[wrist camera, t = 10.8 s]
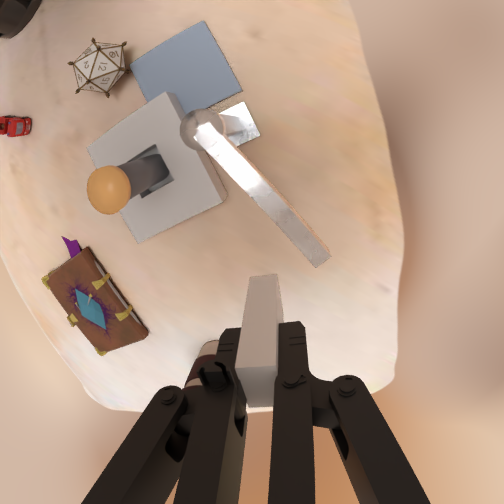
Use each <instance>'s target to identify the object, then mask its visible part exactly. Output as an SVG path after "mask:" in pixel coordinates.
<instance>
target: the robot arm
mask: <svg viewBox="0 0 504 504" xmlns="http://www.w3.org/2000/svg"><path fill="white" fill-rule="evenodd" d="M40 2H41V0H0V38H11V37H13V36H15V35H16V34H17V33H19V32H20V31H21V30H22V29H23V28H24V27H25V25H26V24H27V23H28V22H29V21H30V19H31V18H32V16H33V15H34V13H35V12H36V10H37V8H38V6H39V4H40ZM196 373H197V375H198V377H199V379H200V381H201V383H202V385H201V386H200V387H197V388H194V389H190V390H186V391H182V390H181V388H179V387H177V386H171V385H170V386H166V387H163V388H162V389H160V390H159V391H158V392H157V393H156V394H155V395H154V397H153V398H152V400H151V401H150V403H149V404H148V406H147V407H146V409H145V410H144V412H143V413H142V415H141V416H140V418H139V419H138V420H137V422H136V423H135V425H134V426H133V428H132V429H131V431H130V432H129V434H128V435H127V437H126V438H125V440H124V441H123V443H122V444H121V446H120V447H119V449H118V450H117V452H116V453H115V454H114V456H113V457H112V459H111V460H110V462H109V463H108V465H107V466H106V468H105V469H104V471H103V472H102V474H101V475H100V477H99V478H98V480H97V481H96V483H95V484H94V485H93V487H92V488H91V490H90V492H89V493H88V494H87V496H86V497H85V499H84V500H83V502H82V503H81V504H165V502H166V500H167V499H168V497H169V495H170V493H171V491H172V489H173V488H174V486H175V484H176V482H177V480H178V479H179V481H178V485H177V489H176V494H175V498H174V502H173V504H238V499H239V491H240V483H241V474H242V466H243V457H244V448H245V439H246V429H247V421H248V417H247V412H246V403H247V404H248V407H249V408H250V407H272V406H273V427H272V428H273V429H272V446H271V463H270V479H269V493H268V494H269V495H268V504H315V468H314V442H313V426H317V427H324V428H329V430H330V432H331V435H332V437H333V440H334V442H335V444H336V447H337V449H338V452H339V454H340V457H341V459H342V462H343V464H344V466H345V469H346V471H347V474H348V476H349V479H350V481H351V484H352V486H353V488H354V491H355V493H356V496H357V498H358V501H359V503H360V504H430V501H429V500H428V498H427V496H426V494H425V492H424V490H423V488H422V486H421V484H420V483H419V480H418V479H417V477H416V475H415V474H414V471H413V469H412V467H411V466H410V464H409V462H408V460H407V458H406V457H405V455H404V453H403V451H402V449H401V447H400V446H399V444H398V442H397V440H396V438H395V437H394V435H393V433H392V431H391V430H390V428H389V426H388V424H387V422H386V421H385V419H384V417H383V415H382V413H381V412H380V410H379V408H378V407H377V405H376V403H375V401H374V400H373V398H372V396H371V394H370V393H369V391H368V389H367V387H366V386H365V384H364V382H363V381H362V380H361V379H360V378H358V377H356V376H353V375H344V376H340V377H338V378H336V379H334V380H333V382H332V381H325V380H320V379H318V378H316V377H314V376H313V375H312V374H311V372H310V371H309V366H308V354H307V344H306V333H305V327H304V326H303V325H302V323H301V322H300V321H296V322H287V323H284V320H283V308H282V301H281V295H280V289H279V282H278V276H277V274H272V275H264V276H256V277H250V280H249V286H248V292H247V298H246V304H245V310H244V316H243V322H242V328H229V329H226V330H225V331H224V332H223V333H222V335H221V336H220V339H219V343H218V347H217V352H216V356H215V359H213V360H209V361H206V362H204V363H203V364H201V365H200V366H199V367H198V369H197V371H196Z"/></svg>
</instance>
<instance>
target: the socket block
mask: <svg viewBox="0 0 504 504" xmlns="http://www.w3.org/2000/svg"><path fill="white" fill-rule="evenodd" d="M185 116H186V114H185V112H184V110H183V109H182V107H181V105H180V103H179V101H178V99H177V97H176V95H175V93H170V92H166V91H165V92H164V93H162V94H160V95H159V96H157V97H156V98H154V99H153V100H151V101H149V102H148V103H146V104H145V105H143V106H142V107H140V108H139V109H137V110H136V111H135V112H133V113H132V114H130V115H129V116H127V117H126V118H125V119H123V120H122V121H120V122H119V123H118V124H116V125H115V126H114V127H112V128H111V129H110V130H108V131H107V132H106V133H105V134H103V135H102V136H101V137H99V138H98V139H97V140H96V141H94V142H93V143H92V144H91V145H90V146H88V147H87V150H88V153H89V155H90V157H91V159H92V161H93V163H94V165H95V167H96V169H98V168H101V167H104V166H107V165H113V166H118V165H121V164H124V163H127V162H130V161H133V160H136V159H140V158H143V157H146V156H149V155H152V154H161V156H162V158H163V160H164V162H165V164H166V166H167V168H168V169H169V171H170V172H169V175H168V176H167V178H166V179H164V180H163V181H161V182H159V183H157V184H156V185H154V186H152V187H150V188H149V189H147V190H145V191H143V192H142V193H140V194H138V195H137V196H135V197H133V198H132V199H130V200H129V201H128V203H127V205H126V206H125V207H124V208H122V209H121V210H120V211H119V212H120V214H121V216H122V217H123V219H124V221H125V223H126V224H127V226H128V228H129V230H130V231H131V233H132V235H133V236H134V238H135V240H136V241H137V243H138V244H139V243H141V242H143V241H145V240H146V239H148V238H150V237H152V236H154V235H156V234H158V233H160V232H162V231H164V230H166V229H168V228H170V227H172V226H174V225H176V224H178V223H180V222H183V221H185V220H187V219H189V218H191V217H193V216H195V215H197V214H199V213H201V212H203V211H206V210H208V209H210V208H212V207H214V206H216V205H218V204H221V203H223V201H224V200H225V198H226V197H227V195H228V194H227V192H226V190H225V188H224V186H223V184H222V182H221V180H220V178H219V176H218V174H217V172H216V170H215V168H214V166H213V164H212V163H211V161H210V159H209V157H208V155H207V153H206V151H205V150H204V151H196V150H193V149H190V148H189V147H187V146H186V145H185V144H184V142H183V141H182V139H181V136H180V124H181V122H182V120H183V118H184V117H185Z"/></svg>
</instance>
